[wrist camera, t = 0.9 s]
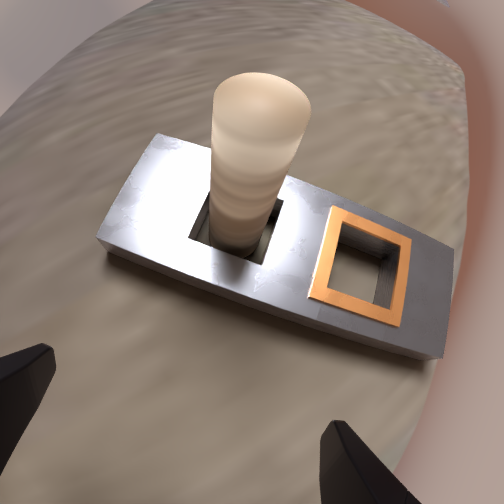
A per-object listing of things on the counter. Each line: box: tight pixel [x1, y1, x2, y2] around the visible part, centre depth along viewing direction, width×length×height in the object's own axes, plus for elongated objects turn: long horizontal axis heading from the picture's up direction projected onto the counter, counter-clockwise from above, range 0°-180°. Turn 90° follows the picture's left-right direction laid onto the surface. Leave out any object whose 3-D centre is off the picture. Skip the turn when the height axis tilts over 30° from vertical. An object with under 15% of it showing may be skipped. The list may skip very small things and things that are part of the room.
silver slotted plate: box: [96, 133, 454, 360], centre depth 23 cm, size 28×10×3 cm, turn 71°
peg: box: [209, 73, 311, 258], centre depth 18 cm, size 4×4×14 cm
